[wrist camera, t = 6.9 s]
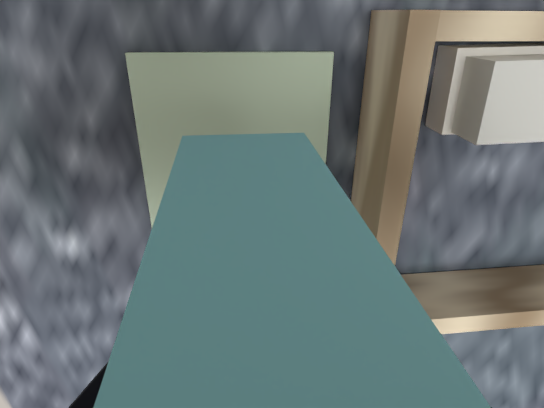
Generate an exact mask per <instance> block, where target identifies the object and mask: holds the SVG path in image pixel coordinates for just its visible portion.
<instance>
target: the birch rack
mask: <svg viewBox="0 0 544 408" xmlns="http://www.w3.org/2000/svg"><path fill="white" fill-rule="evenodd" d="M435 41H544V11H451V10H372V11H371V20H370V29H369V38H368V47H367V57H366V66H365V75H364V84H363V94H362V103H361V112H360V121H359V130H358V140H357V149H356V158H355V167H354V177H353V186H352V195H351V202H352V204H353V205H354V207H355V208H356V210H357V211H358V213H359V214H360V216H361V217H362V219H363V220H364V222H365V223H366V224H367V226H368V227H369V229H370V230H371V232H372V233H373V235H374V236H375V238H376V239H377V241H378V242H379V244H380V245H381V247H382V248H383V249H384V251H385V252H386V254H387V255H388V257H389V258H390V260H391V261H392V263H393V264H394V266H395V262H396V257H397V251H398V245H399V240H400V234H401V229H402V223H403V218H404V212H405V207H406V201H407V196H408V190H409V184H410V179H411V173H412V168H413V162H414V157H415V151H416V146H417V140H418V134H419V129H420V123H421V118H422V112H423V107H424V101H425V96H426V90H427V84H428V79H429V73H430V68H431V62H432V57H433V51H434V46H435ZM401 276H402V277H403V279H404V280H405V282H406V283H407V285H408V286H409V288H410V289H411V291H412V292H413V294H414V295H415V297H416V298H417V300H418V301H419V302H420V304H421V305H422V307H423V308H424V310H425V311H426V313H427V314H428V316H429V317H430V319H431V320H432V322H433V323H434V325H435V326H436V327H437V329H438V330H439V332H440V333H441V334H448V333H460V332H471V331H483V330H494V329H506V328H517V327H528V326H540V325H544V265H532V266H517V267H503V268H488V269H474V270H459V271H445V272H430V273H416V274H401Z"/></svg>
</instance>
